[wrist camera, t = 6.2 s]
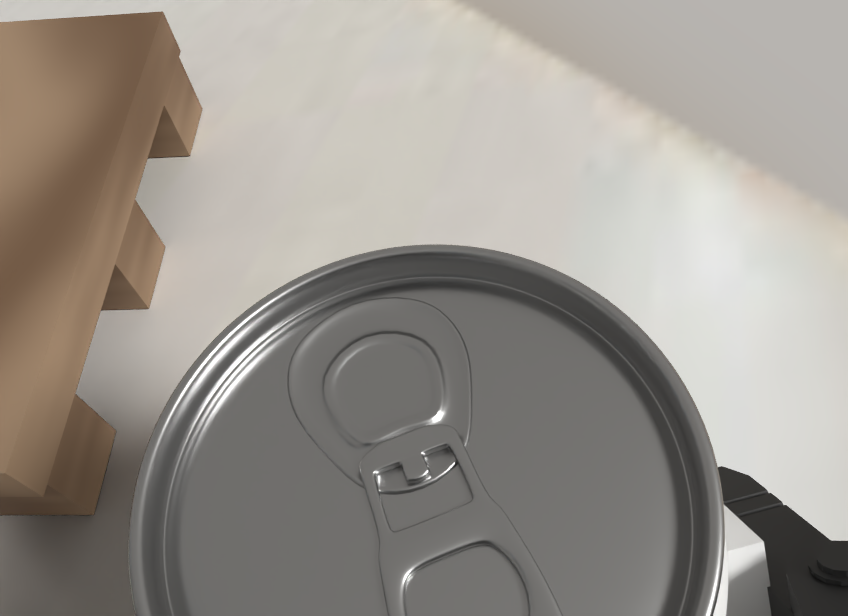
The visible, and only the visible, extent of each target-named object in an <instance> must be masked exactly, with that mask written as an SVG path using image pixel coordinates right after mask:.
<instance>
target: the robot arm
mask: <svg viewBox="0 0 848 616" xmlns="http://www.w3.org/2000/svg"><path fill="white" fill-rule="evenodd" d="M718 472H719V476H720V482H721V488H722V495H723V504H724V519H725V540H726V549H727V561H728V600H727V611H726V616H848V541H831V540H829V539H828V538H827V537H826V536H824V535H823V534H822V533H821V532H819V531H818V530H817V529H816V528H814V527H813V526H812V525H810V524H809V523H808V522H807V521H805V520H804V519H803V518H802V517H800V516H799V515H798V514H797V513H795V512H794V511H793V510H792V509H790V508H789V507H788V506H787V505H783V503H782V501H780V500H779V499H778V498H776V497H775V496H774V495H773V494H771V493H768V491H767V490H766V489H765V488H764V487H763V486H761V485H760V484H759V483H758V482H756V481H755V480H754V479H753V478H751V477H750V476H748V475H746V474H743V473H740V472H737V471H734V470H731V469H728V468H725V467H722V466H721V467H718Z"/></svg>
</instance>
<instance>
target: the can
mask: <svg viewBox="0 0 848 616" xmlns="http://www.w3.org/2000/svg"><path fill="white" fill-rule="evenodd" d="M128 559H129V577H130V586H131V593H132V599H133V605H134V610H135V614H136V616H726V611H727V600H728V561H727V549H726V540H725V519H724V504H723V495H722V488H721V482H720V476H719V472H718V467H717V463H716V459H715V455H714V451H713V448H712V445H711V442H710V439H709V436H708V433H707V430H706V428H705V425H704V423H703V420H702V418H701V416H700V413H699V411H698V409H697V407H696V405H695V403H694V401H693V399H692V397H691V395H690V393H689V391H688V390H687V388H686V386H685V384H684V383H683V381H682V380H681V378H680V376H679V375H678V373H677V372H676V370H675V369H674V367H673V366H672V364H671V363H670V362H669V360H668V359H667V358H666V357H665V355H664V354H663V353H662V351H661V350H660V349H659V348H658V347H657V345H656V344H655V343H654V342H653V341H652V340H651V339H650V338H649V336H648V335H647V334H646V333H645V332H644V331H643V330H642V329H641V328H640V327H639V326H638V325H637V324H636V323H635V322H634V321H632V320H631V319H630V318H629V317H628V316H627V315H626V314H625V313H623V312H622V311H621V310H620V309H619V308H617V307H616V306H615V305H613V304H612V303H611V302H610V301H608V300H607V299H605V298H604V297H603V296H601V295H600V294H598V293H597V292H595V291H594V290H592V289H590V288H589V287H587V286H586V285H584V284H582V283H580V282H579V281H577V280H575V279H573V278H571V277H569V276H567V275H565V274H563V273H561V272H559V271H557V270H555V269H552V268H550V267H547V266H545V265H543V264H540V263H537V262H534V261H532V260H529V259H525V258H522V257H519V256H515V255H512V254H508V253H504V252H500V251H495V250H490V249H484V248H477V247H469V246H459V245H412V246H402V247H394V248H387V249H382V250H376V251H372V252H367V253H363V254H359V255H355V256H352V257H348V258H345V259H342V260H339V261H336V262H333V263H330V264H328V265H325V266H323V267H320V268H318V269H315V270H313V271H311V272H309V273H307V274H304V275H302V276H300V277H298V278H296V279H294V280H292V281H291V282H289V283H287V284H285V285H283V286H282V287H280V288H278V289H277V290H275V291H273V292H272V293H270V294H269V295H267V296H266V297H264V298H263V299H261V300H260V301H258V302H257V303H256V304H254V305H253V306H252V307H250V308H249V309H248V310H246V311H245V312H244V313H243V314H241V315H240V316H239V317H238V318H237V319H235V320H234V321H233V322H232V323H231V324H230V325H229V326H227V327H226V328H225V329H224V330H223V331H222V332H221V333H220V334H219V335H218V336H217V337H216V338H215V339H214V340H213V341H212V342H211V343H210V344H209V346H208V347H207V348H206V349H205V350H204V351H203V352H202V354H201V355H200V356H199V357H198V358H197V360H196V361H195V362H194V363H193V365H192V366H191V367H190V369H189V370H188V371H187V373H186V374H185V375H184V377H183V378H182V380H181V381H180V383H179V384H178V386H177V387H176V389H175V390H174V392H173V394H172V395H171V397H170V399H169V400H168V402H167V404H166V406H165V408H164V410H163V411H162V413H161V415H160V417H159V419H158V422H157V424H156V426H155V428H154V430H153V433H152V435H151V437H150V440H149V442H148V445H147V448H146V451H145V453H144V457H143V460H142V463H141V466H140V470H139V473H138V477H137V481H136V486H135V490H134V495H133V501H132V507H131V515H130V525H129V542H128Z"/></svg>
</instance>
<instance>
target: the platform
mask: <svg viewBox="0 0 848 616" xmlns="http://www.w3.org/2000/svg"><path fill="white" fill-rule="evenodd" d="M179 55H180V49H179V46H178V44H177V42H176V40H175V38H174V35H173V33H172V31H171V29H170V26H169V24H168V22H167V20H166V17H165V15H164V13H163V12H149V13H134V14H119V15H104V16H89V17H74V18H59V19H44V20H29V21H14V22H0V515H94V512H95V509H96V505H97V501H98V497H99V494H100V490H101V486H102V482H103V479H104V475H105V471H106V468H107V464H108V460H109V456H110V453H111V449H112V445H113V441H114V438H115V434H116V430H115V429H114V428H113V427H111V426H110V425H109V424H108V423H107V422H106V421H105V420H104V419H103V418H101V417H100V416H99V415H98V414H97V413H96V412H95V411H94V410H93V409H92V408H90V407H89V406H88V405H87V404H86V403H85V402H84V401H83V400H82V399H80V398H79V397H78V396H77V395H76V394H75V392H76V389H77V386H78V383H79V379H80V376H81V373H82V370H83V366H84V363H85V360H86V357H87V353H88V350H89V347H90V344H91V340H92V337H93V334H94V331H95V327H96V324H97V321H98V318H99V314H100V311H101V310H117V309H149V307H150V303H151V299H152V295H153V292H154V288H155V284H156V281H157V277H158V273H159V269H160V266H161V262H162V258H163V254H164V251H165V246H164V244H163V243H162V241H161V239H160V238H159V236H158V235H157V233H156V232H155V230H154V228H153V227H152V225H151V224H150V222H149V221H148V219H147V217H146V216H145V214H144V213H143V211H142V210H141V208H140V206H139V205H138V203H137V202H136V200H135V198H136V194H137V191H138V188H139V185H140V181H141V178H142V175H143V172H144V168H145V165H146V162H147V159H148V158H154V157H175V156H190V153H191V150H192V146H193V142H194V138H195V135H196V131H197V127H198V123H199V120H200V116H201V112H202V107H201V105H200V103H199V100H198V98H197V96H196V94H195V91H194V89H193V87H192V85H191V83H190V80H189V78H188V76H187V74H186V72H185V69H184V67H183V65H182V63H181V60H180V58H179Z"/></svg>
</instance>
